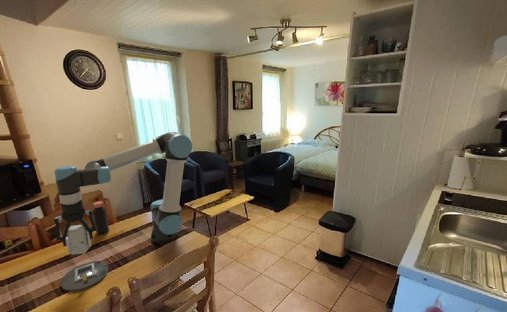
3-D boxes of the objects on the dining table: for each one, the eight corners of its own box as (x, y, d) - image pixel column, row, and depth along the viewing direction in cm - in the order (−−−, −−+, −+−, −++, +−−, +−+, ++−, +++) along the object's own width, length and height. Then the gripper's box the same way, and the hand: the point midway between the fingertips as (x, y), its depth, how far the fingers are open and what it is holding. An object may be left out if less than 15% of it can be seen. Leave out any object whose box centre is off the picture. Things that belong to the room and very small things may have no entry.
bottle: (100, 236, 144) (95, 206, 140) (93, 233, 147) (88, 203, 142) (111, 230, 150) (106, 201, 146) (104, 228, 153) (100, 199, 148)
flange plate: (106, 259, 123) (104, 249, 122) (109, 279, 109) (108, 269, 108) (62, 273, 113) (60, 263, 112) (60, 298, 99) (57, 287, 97)
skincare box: (70, 255, 105) (65, 230, 102) (75, 249, 109) (70, 225, 107) (85, 253, 106) (81, 229, 104) (90, 247, 111) (86, 224, 108)
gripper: (98, 193, 111) (104, 237, 116) (42, 204, 100) (52, 252, 105) (99, 198, 105) (106, 244, 110) (39, 210, 94) (50, 261, 99)
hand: (79, 248), depth 107 cm, fingers closed on skincare box, 7 cm apart
